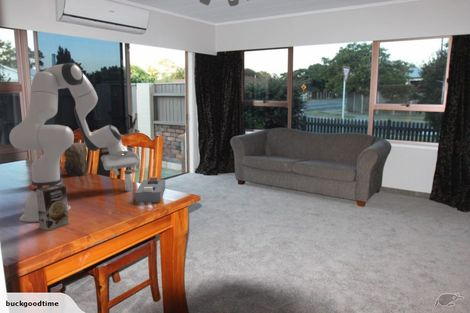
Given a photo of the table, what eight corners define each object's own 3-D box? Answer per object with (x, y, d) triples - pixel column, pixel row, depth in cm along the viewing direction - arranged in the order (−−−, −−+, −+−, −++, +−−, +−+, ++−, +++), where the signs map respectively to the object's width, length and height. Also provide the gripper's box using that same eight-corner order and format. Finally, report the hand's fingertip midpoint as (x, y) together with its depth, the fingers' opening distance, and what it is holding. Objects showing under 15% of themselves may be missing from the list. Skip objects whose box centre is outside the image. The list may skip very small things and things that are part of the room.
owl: (64, 175, 226) (61, 144, 222) (73, 171, 238) (70, 141, 235) (83, 175, 226) (81, 144, 222) (91, 171, 238) (89, 141, 234)
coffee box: (48, 231, 139) (44, 191, 136) (39, 227, 142) (35, 188, 139) (69, 223, 146) (66, 186, 143) (60, 220, 150) (57, 183, 147)
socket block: (160, 202, 175) (160, 188, 173) (135, 202, 174) (135, 188, 172) (165, 188, 199) (165, 175, 198) (143, 188, 198) (143, 176, 197)
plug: (132, 191, 193) (131, 171, 191) (124, 191, 193) (123, 171, 191) (133, 188, 197) (132, 169, 195) (126, 189, 197) (125, 169, 195)
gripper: (101, 152, 192) (109, 172, 186) (136, 148, 205) (144, 167, 199) (98, 158, 196) (106, 179, 191) (133, 154, 209) (141, 173, 204)
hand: (126, 173), depth 195 cm, fingers open, 8 cm apart
